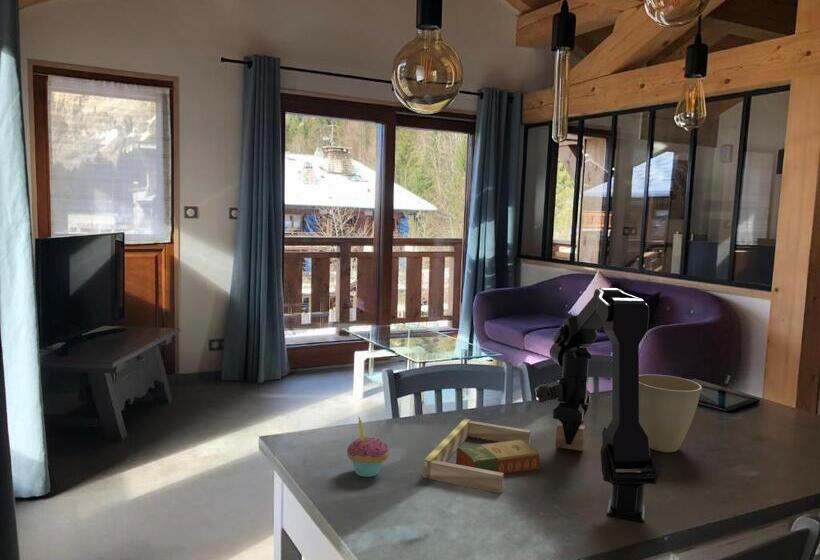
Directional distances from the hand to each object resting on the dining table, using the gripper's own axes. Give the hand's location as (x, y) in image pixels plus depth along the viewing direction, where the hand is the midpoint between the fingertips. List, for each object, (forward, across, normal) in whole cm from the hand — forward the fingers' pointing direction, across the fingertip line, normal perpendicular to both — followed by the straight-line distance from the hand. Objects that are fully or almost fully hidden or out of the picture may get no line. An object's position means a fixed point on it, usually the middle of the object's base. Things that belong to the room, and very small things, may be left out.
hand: (570, 439), depth 153 cm
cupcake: (+3, +32, -37) cm, 49 cm away
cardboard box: (+1, 0, 0) cm, 1 cm away
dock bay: (+3, +15, -17) cm, 23 cm away
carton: (+3, +16, -13) cm, 21 cm away
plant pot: (+3, -13, +20) cm, 24 cm away
